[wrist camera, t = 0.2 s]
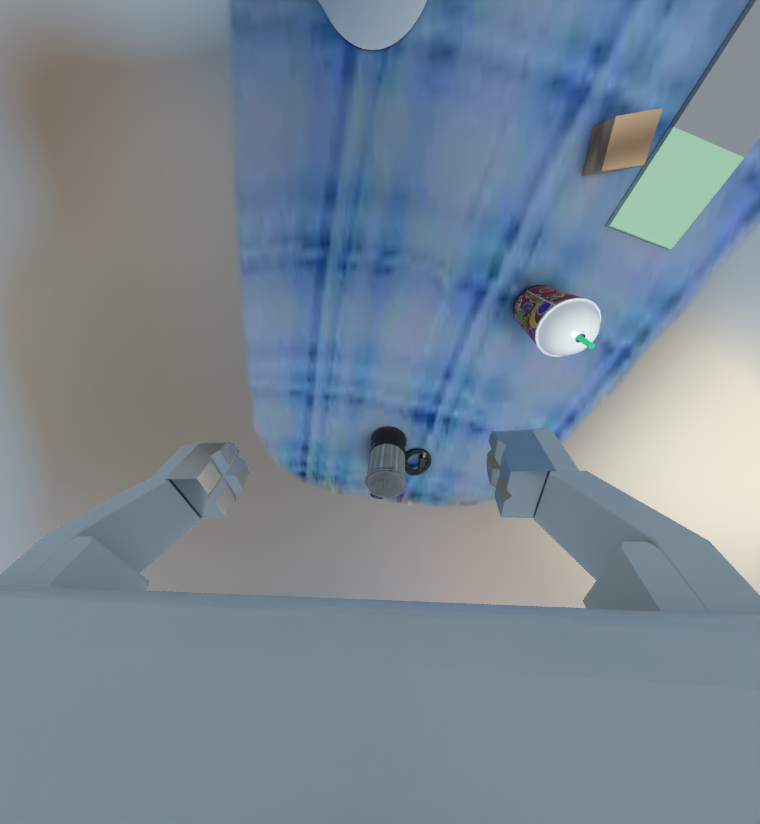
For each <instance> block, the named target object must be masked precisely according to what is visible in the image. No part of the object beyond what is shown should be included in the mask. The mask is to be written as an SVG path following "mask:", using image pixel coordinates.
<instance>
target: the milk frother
mask: <svg viewBox="0 0 760 824" xmlns="http://www.w3.org/2000/svg"><path fill="white" fill-rule="evenodd" d="M405 446H406V437H405V435H404V434H403V432H401V431H400V430H399V429H396V428H393V427H383V428H380V429H378V430H376V431H375V432H374V433H373V435H372V438H371V451H370V458H369V465H368V472H367V476H366V478H365V486H366V488H367V490H368V491H369V492H371V496H372V497H374V498H377V499H383V498H392V497H396V496H398V495H400V494H401V493H403V492H404V490H405V488H406V481H405V471H406V472H407V473H408V474H410V475H419V474H421V473H423V472H425V471H426V470H427V469H428V468H429V466H430V464H431V457H430V455H429V453H428V452H426V451H424V450H421V449H414V450H411V451H409V452H408V453H407V454H406V455H405ZM414 454H422V455H423V456H422V455H420V456H419V457H420V462H419V466H418V469H416V470H412V469H410V468H409V467H408V465H407V460H408V459H409V457H410V456H412V455H414ZM425 461H426V464H425V466H424V463H425Z"/></svg>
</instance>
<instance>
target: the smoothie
mask: <svg viewBox="0 0 760 824" xmlns="http://www.w3.org/2000/svg"><path fill="white" fill-rule="evenodd" d="M514 315H515V317H516V319H517V321H518V322H519V323H520V324H521V326H522V327H523V328H524V330H525V331H526V332H527V333H528V335H529V336H530V337H531V339H532V340H533V341H534V342H535V344H536V345H537V347H538V348H539V349H540V350H541V352H542V353H544V354H546V355H548V356H554V357H561V356H568V355H573V354H576V353H578V352H581V351H583V350H584V349H586V348H587V347H588V348H590V349H592V348H594V346H595V345H594V344H593V342H594V341H595V339H596V337H597V335H598V334H599V331H600V326H601V312H600V309H599V308H598V306H597V305H596V303H594V302H592V301H591V300H589V299H585V298H581V297H578V296H575V295H572V294H568V293H565V292H562V291H559V290H556V289H553V288H549V287H546V286H535V287H532V288H530V289H528V290H526V291H525V292H524V293H523V294H522V295H521V296H520V297H519V298H518V300H517V301H516V304H515V307H514Z"/></svg>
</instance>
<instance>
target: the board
mask: <svg viewBox="0 0 760 824" xmlns="http://www.w3.org/2000/svg"><path fill="white" fill-rule="evenodd" d="M759 139H760V0H751V1H750V2H749V4H748V5H747V7H746V8H745V10H744V11H743V13H742V15H741V16H740V18H739V19H738V21H737V22H736V24H735V25H734V27H733V29H732V30H731V32H730V33H729V35H728V36H727V38H726V39H725V41H724V42H723V44H722V46H721V47H720V49H719V50H718V52H717V53H716V55H715V56H714V58H713V60H712V61H711V63H710V64H709V66H708V67H707V69H706V70H705V72H704V74H703V75H702V77H701V78H700V80H699V81H698V83H697V84H696V86H695V88H694V89H693V91H692V92H691V94H690V95H689V97H688V98H687V100H686V101H685V103H684V105H683V106H682V108H681V109H680V111H679V112H678V114H677V115H676V117H675V119H674V120H673V122H672V123H671V125H670V126H669V128H668V129H667V131H666V133H665V134H664V136H663V137H662V139H661V140H660V142H659V143H658V145H657V147H656V148H655V150H654V151H653V153H652V154H651V156H650V157H649V159H648V160H647V162H646V164H645V165H644V167H643V168H642V170H641V171H640V173H639V174H638V176H637V178H636V179H635V181H634V182H633V184H632V185H631V187H630V188H629V190H628V192H627V193H626V195H625V196H624V198H623V199H622V201H621V202H620V204H619V206H618V207H617V209H616V210H615V212H614V213H613V215H612V216H611V218H610V219H609V221H608V223H607V224H606V226H608V227H610V228H613V229H616V230H618V231H621V232H624V233H626V234H629V235H631V236H634V237H637V238H639V239H642V240H644V241H647V242H650V243H652V244H655V245H657V246H660V247H663V248H665V249H672V248H673V247H674V245H675V244H676V243H677V242H678V240H679V239H680V238H681V237H682V235H683V234H684V233H685V232H686V230H687V229H688V228H689V227H690V225H691V224H692V223H693V222H694V220H695V219H696V218H697V217H698V215H699V214H700V213H701V212H702V210H703V209H704V208H705V206H706V205H707V204H708V203H709V201H710V200H711V199H712V198H713V196H714V195H715V194H716V193H717V191H718V190H719V189H720V188H721V186H722V185H723V184H724V183H725V181H726V180H727V179H728V178H729V176H730V175H731V174H732V173H733V171H734V170H735V169H736V168H737V166H738V165H739V164H740V163H741V161H742V160H743V159H744V158H745V156H746V155H747V154H748V153H749V151H750V150H751V149H752V147H753V146H754V145H755V144H756V142H757V141H758V140H759Z"/></svg>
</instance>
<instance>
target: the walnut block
mask: <svg viewBox="0 0 760 824" xmlns="http://www.w3.org/2000/svg"><path fill="white" fill-rule="evenodd" d="M662 110H663V108H661V109H655V110H649V111H643V112H637V113H631V114H625V115H619V116H615V117H613V118H611V119H609V120H607V121H605V122H603V123H601V124H598V125H596V126H594V127H593V130H592V135H591V139H590V143H589V147H588V152H587V156H586V160H585V164H584V169H583V173H582V176H584V175H591V174H598V173H604V172H611V171H618V170H623V169H628V168H633V167H637V166H642V165H645V162H646V159H647V156H648V153H649V150H650V147H651V144H652V141H653V138H654V134H655V131H656V128H657V125H658V122H659V119H660V116H661V113H662Z"/></svg>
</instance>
